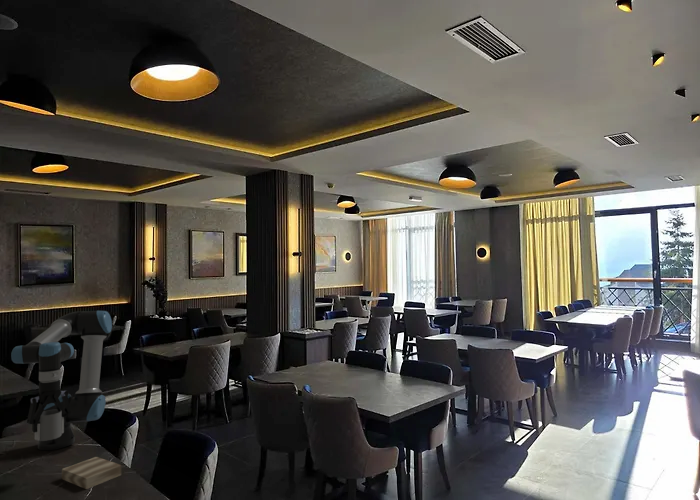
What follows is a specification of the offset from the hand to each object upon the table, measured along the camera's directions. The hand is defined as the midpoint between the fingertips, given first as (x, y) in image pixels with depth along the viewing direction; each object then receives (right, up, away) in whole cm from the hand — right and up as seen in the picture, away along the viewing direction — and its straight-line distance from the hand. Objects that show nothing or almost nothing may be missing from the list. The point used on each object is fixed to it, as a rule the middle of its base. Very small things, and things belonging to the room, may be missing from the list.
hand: (49, 436), depth 189 cm
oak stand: (+19, -15, -3) cm, 25 cm away
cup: (0, -1, 0) cm, 1 cm away
